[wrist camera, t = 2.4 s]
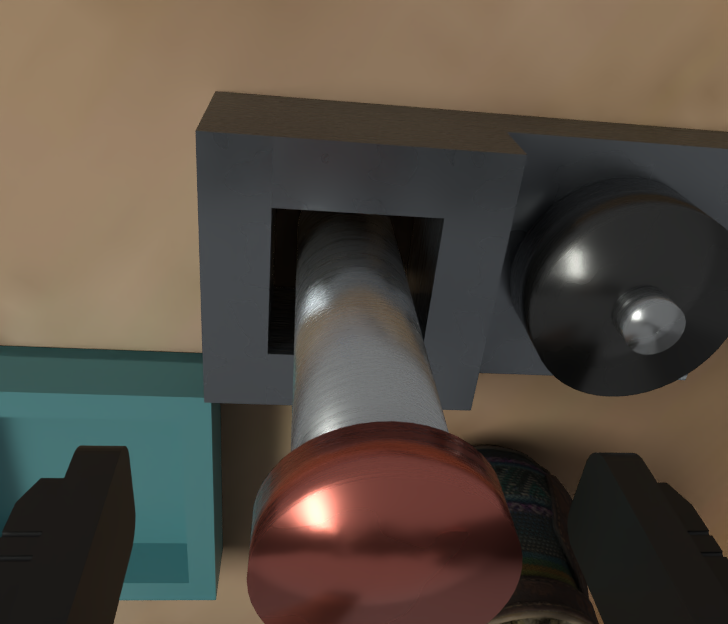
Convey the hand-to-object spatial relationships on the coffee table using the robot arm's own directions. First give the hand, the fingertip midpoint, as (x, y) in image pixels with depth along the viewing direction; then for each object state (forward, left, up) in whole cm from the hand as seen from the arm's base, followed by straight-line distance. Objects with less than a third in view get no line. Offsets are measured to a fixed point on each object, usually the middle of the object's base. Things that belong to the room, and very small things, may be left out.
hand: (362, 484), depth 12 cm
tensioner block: (-4, 0, -11) cm, 12 cm away
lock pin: (0, 0, -11) cm, 11 cm away
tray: (+9, +10, -11) cm, 18 cm away
